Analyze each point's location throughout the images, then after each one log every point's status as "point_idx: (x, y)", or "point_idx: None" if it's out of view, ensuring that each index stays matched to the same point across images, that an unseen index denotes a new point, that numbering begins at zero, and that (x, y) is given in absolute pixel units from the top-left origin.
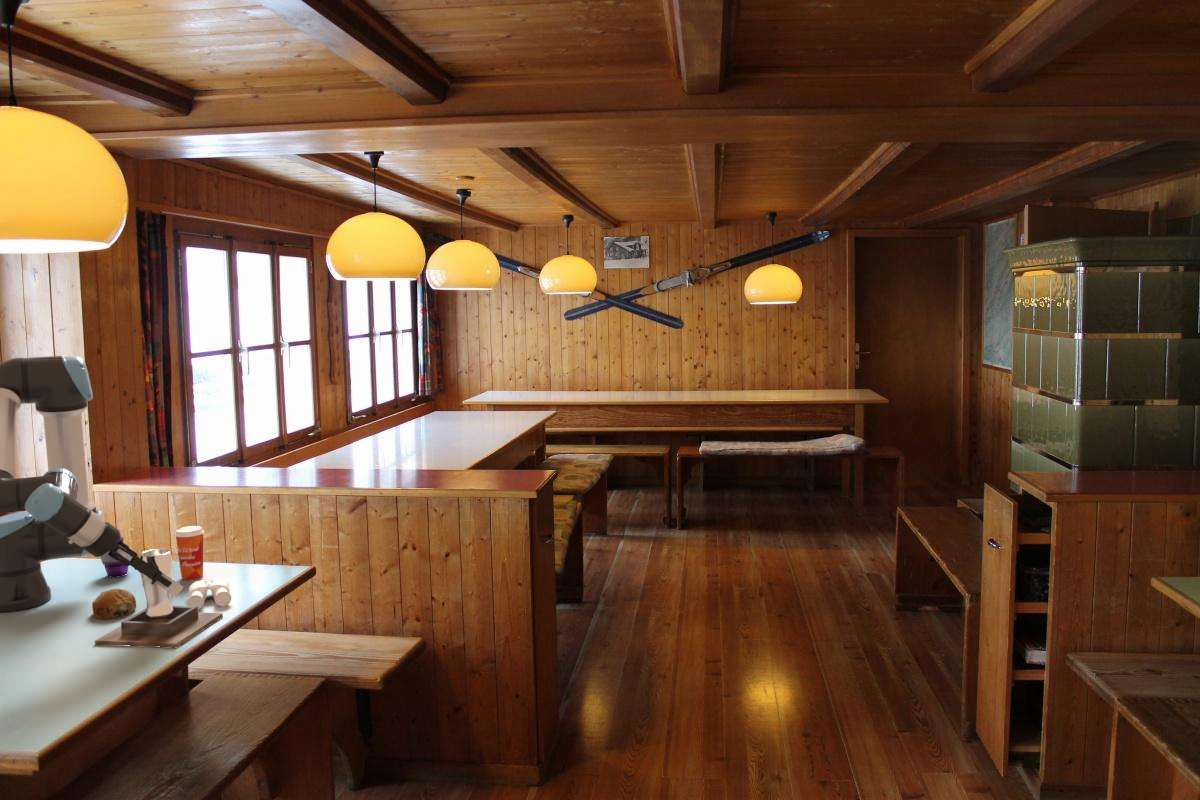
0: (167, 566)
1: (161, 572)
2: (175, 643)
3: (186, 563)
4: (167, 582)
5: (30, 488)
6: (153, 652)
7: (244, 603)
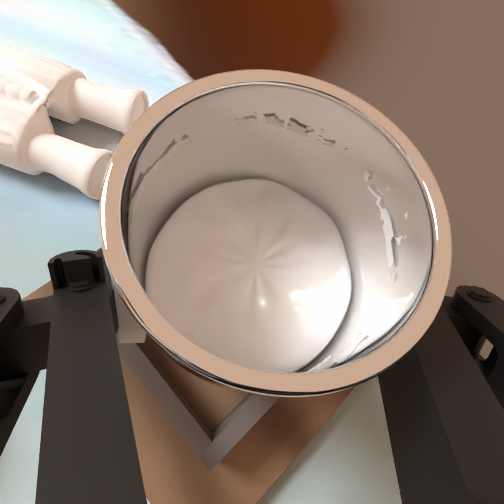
0: (359, 212)
1: (486, 293)
2: None
3: None
4: None
5: None
6: None
7: (166, 93)
